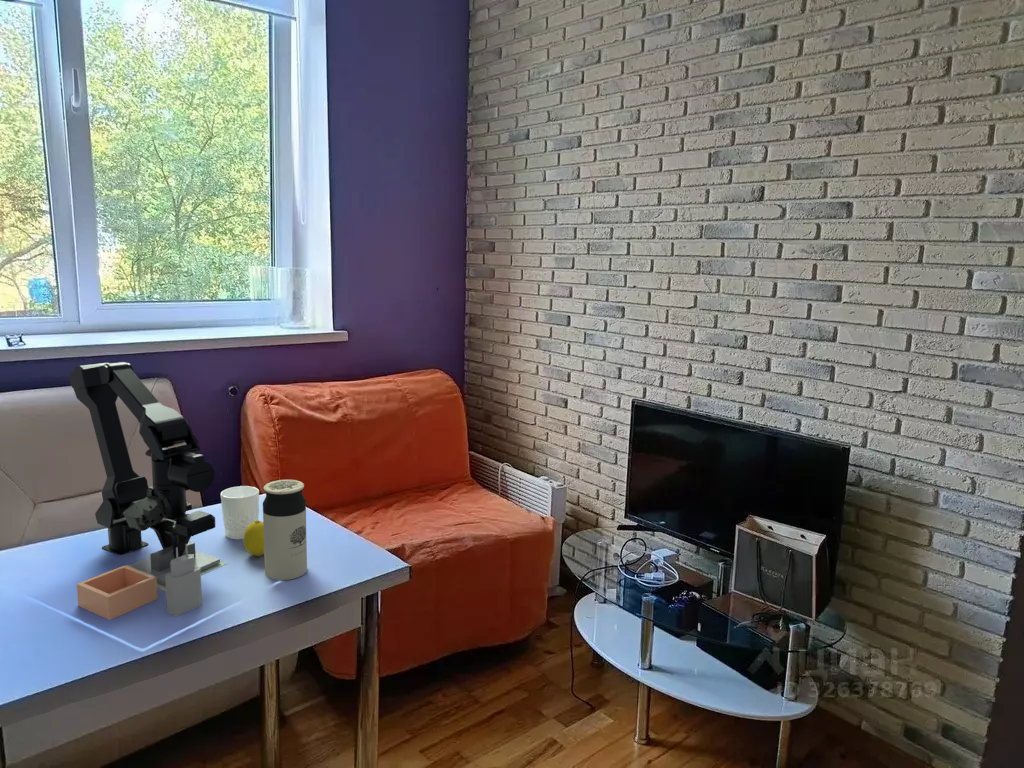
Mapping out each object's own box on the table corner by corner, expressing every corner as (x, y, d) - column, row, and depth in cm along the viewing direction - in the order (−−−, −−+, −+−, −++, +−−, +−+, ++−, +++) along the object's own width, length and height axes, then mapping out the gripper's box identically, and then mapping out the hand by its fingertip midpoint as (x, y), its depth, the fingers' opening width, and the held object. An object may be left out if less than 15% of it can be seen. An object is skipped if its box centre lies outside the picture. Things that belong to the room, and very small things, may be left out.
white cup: (252, 542, 156) (251, 498, 154) (216, 541, 156) (214, 497, 154) (265, 528, 164) (264, 486, 162) (230, 527, 164) (229, 485, 162)
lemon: (263, 564, 146) (262, 526, 144) (238, 560, 147) (237, 523, 146) (277, 553, 151) (276, 517, 150) (253, 550, 152) (252, 514, 151)
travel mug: (257, 571, 142) (254, 484, 139) (293, 560, 148) (291, 476, 145) (278, 585, 137) (275, 495, 134) (314, 572, 143) (313, 486, 140)
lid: (126, 570, 140) (124, 551, 139) (180, 548, 150) (179, 531, 149) (166, 585, 134) (165, 566, 133) (220, 562, 144) (219, 544, 144)
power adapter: (204, 605, 129) (201, 542, 126) (176, 618, 124) (172, 553, 122) (193, 601, 130) (189, 538, 128) (165, 613, 126) (161, 548, 123)
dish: (78, 607, 126) (76, 583, 126) (126, 587, 134) (125, 565, 133) (109, 621, 122) (107, 597, 121) (157, 600, 130) (156, 577, 129)
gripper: (98, 482, 136) (104, 560, 139) (162, 502, 127) (167, 584, 130) (152, 468, 146) (157, 540, 149) (215, 485, 137) (218, 562, 140)
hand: (173, 556), depth 142 cm, fingers closed on lid, 2 cm apart
